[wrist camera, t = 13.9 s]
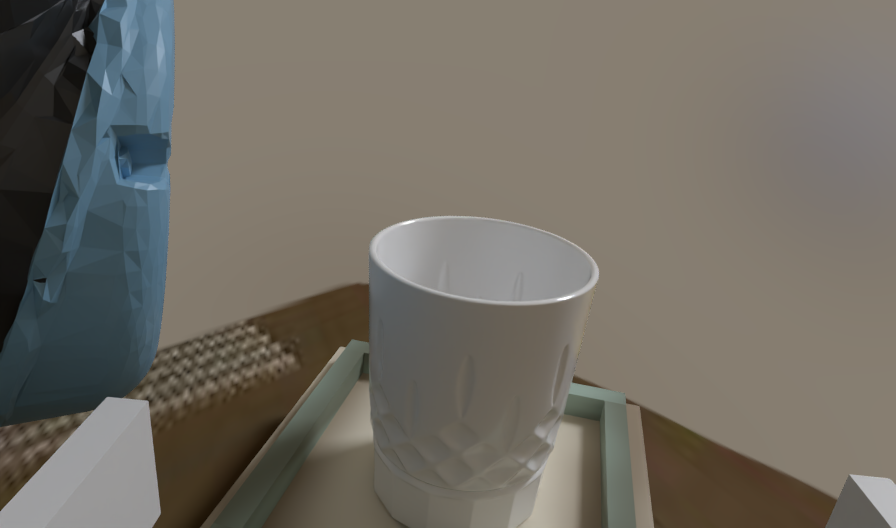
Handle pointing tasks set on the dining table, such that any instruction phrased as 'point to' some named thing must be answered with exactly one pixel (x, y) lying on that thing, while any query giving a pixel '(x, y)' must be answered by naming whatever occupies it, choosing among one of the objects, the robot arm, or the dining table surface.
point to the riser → (352, 462)
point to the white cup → (470, 365)
